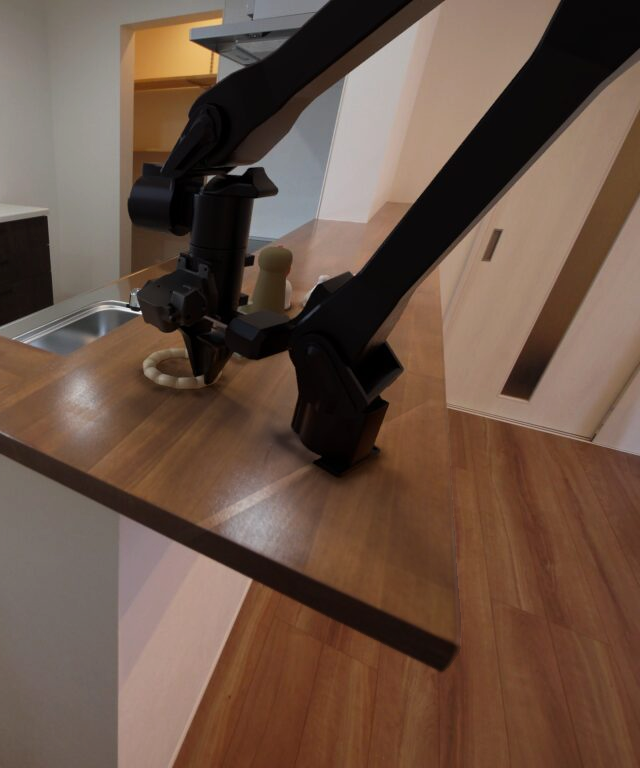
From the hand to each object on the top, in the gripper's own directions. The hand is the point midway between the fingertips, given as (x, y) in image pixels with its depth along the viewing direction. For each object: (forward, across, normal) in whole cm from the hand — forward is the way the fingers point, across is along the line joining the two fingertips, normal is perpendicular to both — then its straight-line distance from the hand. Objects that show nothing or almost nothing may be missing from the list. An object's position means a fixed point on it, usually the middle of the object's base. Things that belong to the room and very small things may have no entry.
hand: (203, 380), depth 50 cm
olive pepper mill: (+1, -13, +25) cm, 28 cm away
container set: (+1, -11, +36) cm, 38 cm away
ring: (0, -4, 0) cm, 4 cm away
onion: (+1, -24, +39) cm, 46 cm away
